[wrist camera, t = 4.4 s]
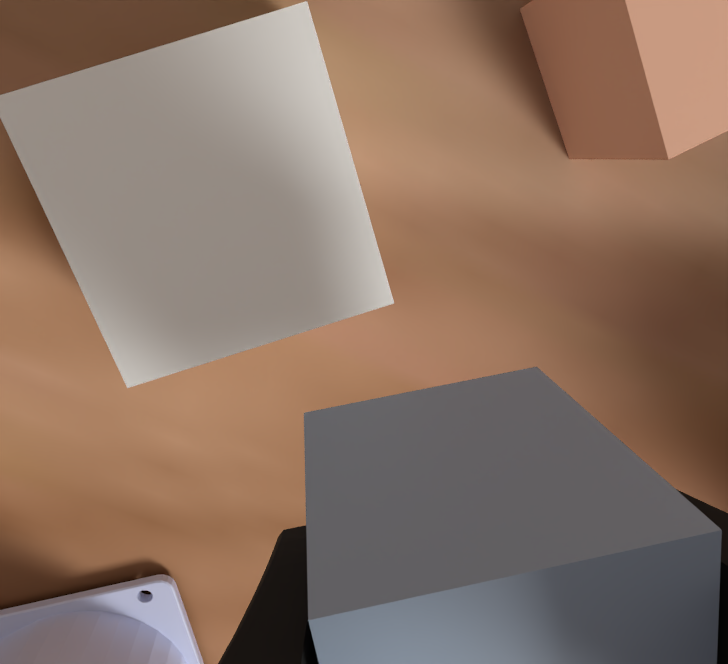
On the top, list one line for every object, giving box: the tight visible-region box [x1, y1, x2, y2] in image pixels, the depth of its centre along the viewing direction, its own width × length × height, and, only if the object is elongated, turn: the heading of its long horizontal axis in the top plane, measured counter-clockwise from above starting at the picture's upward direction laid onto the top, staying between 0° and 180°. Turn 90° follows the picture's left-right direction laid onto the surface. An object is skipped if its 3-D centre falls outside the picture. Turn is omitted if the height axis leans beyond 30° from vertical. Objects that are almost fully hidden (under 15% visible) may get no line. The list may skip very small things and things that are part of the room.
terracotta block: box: [520, 0, 728, 160], centre depth 14 cm, size 4×4×5 cm
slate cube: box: [304, 367, 722, 664], centre depth 9 cm, size 4×4×5 cm
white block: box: [0, 1, 394, 388], centre depth 15 cm, size 7×7×4 cm
